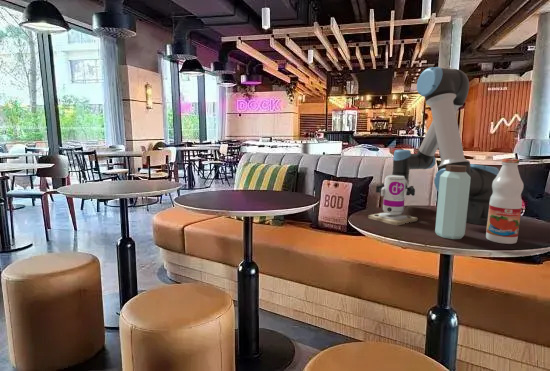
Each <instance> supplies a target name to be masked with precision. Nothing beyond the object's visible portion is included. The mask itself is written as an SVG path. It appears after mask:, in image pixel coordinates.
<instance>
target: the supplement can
mask: <svg viewBox="0 0 550 371" xmlns="http://www.w3.org/2000/svg"><path fill="white" fill-rule="evenodd" d="M383 184H384V195H383V201H382V211H383V212H386V213H389V214H402V213H404V211H405V210H404V208H405V198H404V191H405V185H406V180H405V177H404V176H399V175H392V174H388V175H386V177H385V178H384V183H383Z"/></svg>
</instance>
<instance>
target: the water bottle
mask: <svg viewBox="0 0 550 371" xmlns="http://www.w3.org/2000/svg"><path fill="white" fill-rule="evenodd" d="M466 167H467V166H462V165H446V169H445V172H444V173H442V174H441V175H440V182H439V192H437V194H438V195H437V205H436V206H437V207H436V215H435V216H436V217H435V226H434V227H435V229H434V232H435V234H436V235H437V236H438V237H441V238H444V239H450V240H461V239H462V238H463V237H464V236H465V234H466V227H467V222H466V218H467V209H468V199H469V189H470V180H471V177H470V176H469V175H468V174H467V172H466Z"/></svg>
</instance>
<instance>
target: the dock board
mask: <svg viewBox="0 0 550 371" xmlns="http://www.w3.org/2000/svg"><path fill="white" fill-rule="evenodd" d="M367 219H369V220H374V221H377V222H381V223H384V224H388V225H389V224H390V225H393V226H401V225H405V223H406V224H409V222H410V223H413V222H418V217H417V216H411V215H406V214H402V213H401V214H389V213H386V212H384V211H383V212H379V213H374V214H373V213H372V214H368V215H367Z"/></svg>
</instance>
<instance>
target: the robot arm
mask: <svg viewBox="0 0 550 371" xmlns="http://www.w3.org/2000/svg"><path fill="white" fill-rule="evenodd" d="M416 90H417V93H418V94H419V95H420V96H421V97H424V99H425V100H424V101H425V104H426V106H429V107H430V111H431V116H432V121H431V123H430V126H428V130H427V132H426V134H425V136H424V137H423V140H422V142H421V144H420V147H419V148H418V150H417V152H416V153H412V152H411V151H412V150H410V149H395V150H394V152H393V158H392V172H391V173H392V174H391V175H399V176H404V177H405V180H406V185H405V191H404V199H406V198H407V196H410V195H411V196H412V197H414V196H415V194H416V189H415V188H414V185H410V186H409V183H410V180H409V178H410V170H429V169H430V170H431V169H432V168H434V167H435V165H436V161H437V159H436V157H435V155H436V153H437V151H438V152H439V158H440V164H439V165H438V166H437V170H438V171H437V172H436V174H435V177H434V182H433V183H434V187H435V189H436V190H437V193H439V182H440V175H441V174H442V173H444V172H445V169H446V165H462V166H467V167H466V172H467V174H468V175H469V176H470V177H471V180H470V189H469V199H468V209H467V218H466V223H468V224H469V223H470V224H475V225H483V226H484V225H485V226H487V221H488V212H489V202H490V197H491V195H492V193H493V190H492V182H493V180H494V179H495V178H496V176H497V175H498V173H499V171H500V169H499V168H497V166H495V167H494V166H489V165H481V164H476V163H475V164H474V163H471V161H470V160H469V159H466V158H465V155H464V154H465V153H464V150H463V148H464V147H463V144H462V138H461V134H460V129H459V124H458V119H457V118H458V117H457V113H458V110H459V108H461V107H463V106H464V104H465V101H466V100H467V98H468V95H469V90H470V81H469V78H468V75H467V74H466V73H465V72H464V71H462V70H461V69H459V68H458V69H457V68H446V67H445V68H444V67H440V66H435V67H434V66H431V67H427V68H426V69H424V70H423V71H422V72H421V73H420V75H419V77H418V79H417V82H416ZM375 192H376V193H379V195H380V197H384V183H381V184H378V185H376V187H375Z"/></svg>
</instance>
